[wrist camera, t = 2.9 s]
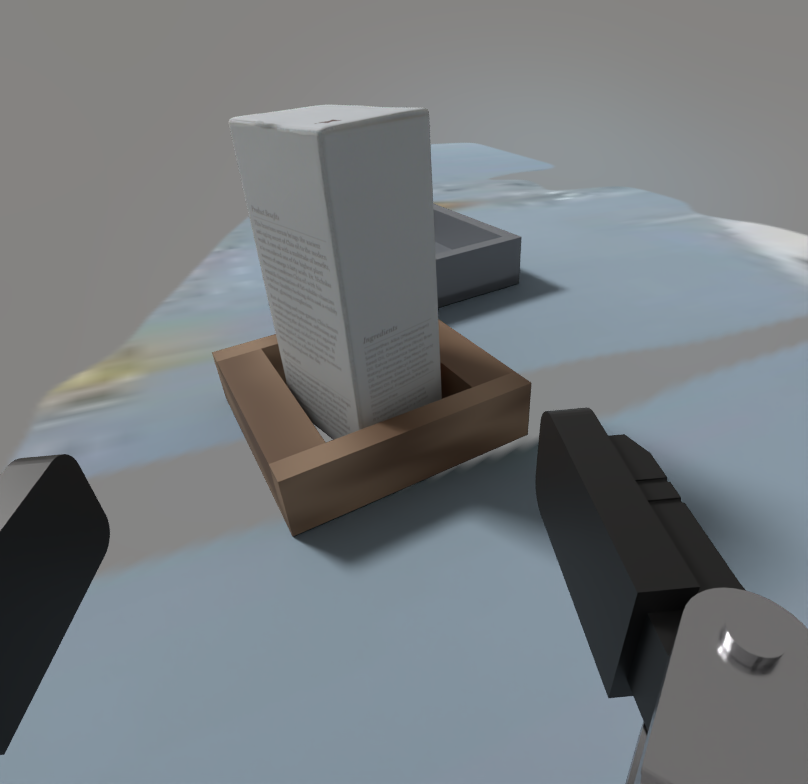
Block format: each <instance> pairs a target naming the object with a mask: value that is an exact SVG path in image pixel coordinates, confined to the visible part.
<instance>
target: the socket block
mask: <svg viewBox="0 0 808 784" xmlns="http://www.w3.org/2000/svg"><path fill="white" fill-rule="evenodd" d="M438 324H439V347H440V370H441V392H442V399H441V400H438V401H435V402H433V403H430V404H427V405H425V406H422V407H419V408H417V409H414V410H411V411H409V412H406V413H403V414H401V415H398V416H395V417H393V418H390V419H387V420H385V421H382V422H379V423H377V424H374V425H371V426H369V427H366V428H363V429H361V430H358V431H356V432H353V433H350V434H348V435H345V436H342V437H340V438H337V439H334V440H332V441H329V442H325V441H324V439H323V438H322V437H321V436H320V434H319V432H318V431H317V429H316V428H315V426H314V425H313V423H312V422H311V420H310V419H309V418H308V416H307V415H306V413H305V412H304V410H303V409H302V407H301V406H300V404H299V403H298V402H297V400H296V399H295V397H294V396H293V394H292V393H291V391H290V390H289V388H288V386H287V382H286V377H285V373H284V368H283V363H282V359H281V355H280V350H279V346H278V341H277V337H276V334H275V335H271V336H268V337H264V338H261V339H257V340H254V341H250V342H247V343H243V344H240V345H236V346H233V347H229V348H226V349H222V350H219V351H215V352H212V354H213V357H214V361H215V364H216V367H217V370H218V374H219V377H220V380H221V383H222V386H223V390H224V393H225V396H226V399H227V401H228V403H229V405H230V407H231V409H232V411H233V413H234V416H235V418H236V420H237V422H238V424H239V426H240V428H241V430H242V432H243V434H244V436H245V438H246V440H247V443H248V445H249V447H250V449H251V451H252V453H253V455H254V457H255V459H256V461H257V463H258V465H259V467H260V469H261V471H262V474H263V476H264V478H265V480H266V482H267V484H268V486H269V488H270V490H271V492H272V495H273V497H274V499H275V501H276V503H277V505H278V507H279V509H280V511H281V513H282V515H283V517H284V519H285V522H286V524H287V526H288V528H289V530H290V532H291V534H292V536H295V535H298V534H300V533H302V532H305V531H307V530H309V529H311V528H314V527H316V526H318V525H321V524H323V523H325V522H328V521H330V520H332V519H334V518H337V517H339V516H341V515H344V514H346V513H348V512H351V511H353V510H355V509H358V508H360V507H362V506H364V505H367V504H369V503H371V502H374V501H376V500H378V499H381V498H383V497H385V496H387V495H390V494H392V493H394V492H397V491H399V490H401V489H404V488H406V487H408V486H411V485H413V484H415V483H417V482H420V481H422V480H424V479H427V478H429V477H431V476H434V475H436V474H438V473H440V472H443V471H445V470H447V469H450V468H452V467H454V466H457V465H459V464H461V463H463V462H466V461H468V460H470V459H473V458H475V457H477V456H480V455H482V454H484V453H487V452H489V451H491V450H493V449H496V448H498V447H500V446H503V445H505V444H507V443H510V442H512V441H514V440H516V439H519V438H521V437H523V436H526V435H528V422H529V409H530V395H531V382H529V381H528V380H526V379H525V378H523V377H522V376H521V375H519V374H518V373H516V372H515V371H513V370H512V369H510V368H509V367H507V366H506V365H505V364H503V363H502V362H500V361H499V360H497V359H496V358H494V357H493V356H491V355H490V354H488V353H487V352H486V351H484V350H483V349H481V348H480V347H478V346H477V345H475V344H474V343H472V342H471V341H469V340H468V339H467V338H465V337H464V336H462V335H461V334H459V333H458V332H456V331H455V330H453V329H452V328H450V327H449V326H448V325H446V324H445V323H443V322H442V321H440V320H439V319H438Z"/></svg>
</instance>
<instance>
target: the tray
mask: <svg viewBox="0 0 808 784" xmlns="http://www.w3.org/2000/svg"><path fill="white" fill-rule="evenodd" d="M433 212H434V233H435V258H436V277H437V299H438V307H442V306H445V305H448V304H452V303H455V302H458V301H462V300H465V299H468V298H471V297H475V296H478V295H481V294H485V293H488V292H491V291H495V290H498V289H501V288H504V287H508V286H511V285H514V284H518V283H519V273H520V253H521V237H520V236H517V235H515V234H512V233H509V232H507V231H504V230H502V229H499V228H496V227H494V226H491V225H488V224H486V223H483V222H480V221H478V220H475V219H473V218H470V217H467V216H465V215H462V214H459V213H457V212H454V211H452V210H449V209H446V208H444V207H441V206H438V205H436V204H433Z"/></svg>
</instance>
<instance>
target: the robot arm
mask: <svg viewBox="0 0 808 784" xmlns="http://www.w3.org/2000/svg"><path fill="white" fill-rule="evenodd" d="M536 495H537V501H538V506H539V510H540V513H541V516H542V519H543V522H544V524H545V527H546V530H547V533H548V535H549V538H550V541H551V543H552V546H553V549H554V552H555V554H556V557H557V560H558V562H559V565H560V568H561V571H562V573H563V576H564V579H565V581H566V584H567V587H568V590H569V592H570V595H571V598H572V600H573V603H574V606H575V609H576V611H577V614H578V617H579V619H580V622H581V625H582V628H583V630H584V633H585V636H586V638H587V641H588V644H589V647H590V649H591V652H592V655H593V657H594V660H595V663H596V666H597V668H598V671H599V674H600V676H601V679H602V682H603V685H604V687H605V690H606V693H607V695H608V698H615V697H625V696H634V698H635V701H636V703H637V706H638V708H639V711H640V713H641V716H642V718H643V720H644V721H643V724H642V727H641V730H640V734H639V737H638V741H637V744H636V748H635V751H634V755H633V759H632V762H631V766H630V769H629V773H628V776H627V780H626V783H625V784H808V629H807V628H806V627H805V626H804V625H803V623H802V622H800V621H799V620H798V619H797V618H796V617H795V616H794V615H792V614H791V613H790V612H788V611H787V610H786V609H784V608H783V607H781V606H780V605H778V604H776V603H774V602H773V601H771V600H769V599H767V598H764V597H762V596H760V595H758V594H755V593H752V592H748V591H746V590H745V589H744V588H743V586H742V585H741V584H740V583H739V581H738V580H737V578H736V577H735V575H734V574H733V572H732V571H731V570H730V568H729V567H728V565H727V564H726V562H725V561H724V559H723V558H722V557H721V555H720V554H719V552H718V551H717V549H716V548H715V546H714V545H713V543H712V542H711V541H710V539H709V538H708V536H707V535H706V533H705V532H704V530H703V529H702V527H701V526H700V525H699V523H698V522H697V520H696V519H695V517H694V516H693V514H692V513H691V511H690V510H689V509H688V507H687V506H686V504H685V503H682V502H681V497H680V495H679V494H678V493H677V491H676V490H675V488H674V487H673V485H672V484H671V482H667V477H666V475H665V474H664V472H663V471H662V469H661V468H660V466H659V465H658V464H657V462H656V461H655V459H654V458H653V456H652V455H651V453H649V452H648V451H647V450H645V449H644V448H642V447H641V446H640V445H638V444H637V443H636V442H634V441H633V440H631V439H630V438H629V437H627V436H626V435H624V434H623V435H612V436H608V435H607V433H606V432H605V430H604V428H603V427H602V425H601V424H600V422H599V420H598V419H597V417H596V415H595V414H594V412H593V411H592V410H591V409H590V408H578V409H568V410H557V411H545V412H544V413H543V414H542V417H541V424H540V434H539V445H538V457H537V468H536ZM109 538H110V529H109V523H108V519H107V517H106V514H105V513H104V511H103V509H102V507H101V505H100V503H99V502H98V500H97V498H96V496H95V494H94V492H93V490H92V489H91V486H90V485H89V483H88V481H87V479H86V477H85V475H84V473H83V472H82V470H81V468H80V466H79V464H78V463H77V461H76V460H75V459H74V458H73V457H72V456H70V455H66V454H62V455H51V456H41V457H30V458H20V459H17V460H14V461H13V462H11V463H10V464H9V465H8V466H7V468H6V469H5V470H4V471H3V472H2V474H1V475H0V755H4V754H5V752H6V750H7V748H8V746H9V744H10V742H11V740H12V738H13V736H14V734H15V732H16V730H17V728H18V726H19V724H20V722H21V720H22V718H23V716H24V714H25V712H26V710H27V708H28V706H29V704H30V702H31V700H32V698H33V696H34V694H35V692H36V691H37V689H38V687H39V685H40V683H41V681H42V679H43V677H44V675H45V673H46V671H47V669H48V667H49V665H50V663H51V661H52V659H53V657H54V655H55V653H56V651H57V649H58V647H59V645H60V643H61V641H62V639H63V637H64V635H65V633H66V631H67V629H68V627H69V625H70V623H71V621H72V619H73V617H74V615H75V613H76V611H77V609H78V607H79V605H80V603H81V602H82V600H83V598H84V596H85V594H86V592H87V590H88V588H89V586H90V584H91V582H92V580H93V578H94V576H95V574H96V572H97V570H98V568H99V566H100V564H101V562H102V560H103V558H104V556H105V554H106V552H107V548H108V544H109Z"/></svg>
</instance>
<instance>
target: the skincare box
mask: <svg viewBox="0 0 808 784" xmlns="http://www.w3.org/2000/svg"><path fill="white" fill-rule="evenodd" d="M229 127H230V132H231V136H232V140H233V145H234V149H235V154H236V158H237V163H238V167H239V172H240V176H241V181H242V186H243V189H244V194H245V198H246V203H247V208H248V212H249V217H250V222H251V226H252V230H253V235H254V239H255V243H256V248H257V252H258V257H259V261H260V266H261V270H262V275H263V280H264V284H265V288H266V292H267V297H268V301H269V306H270V310H271V315H272V319H273V324H274V328H275V332H276V337H277V341H278V346H279V350H280V355H281V359H282V363H283V368H284V373H285V377H286V382H287V386H288V388H289V390H290V391H291V393H292V394H293V396H294V397H295V399H296V400H297V402H298V403H299V404H300V406H301V407H302V409H303V410H304V412H305V413H306V415H307V416H308V418H309V419H310V420H311V422H312V423H313V424H314V425H316V426H317V427H318V428H319V429H321V430H322V431H323V432H325V433H326V434H327V435H328V436H330V437H331V438H332V439H333V440H334V439H337V438H340V437H342V436H345V435H348V434H350V433H353V432H356V431H358V430H361V429H363V428H366V427H369V426H371V425H374V424H377V423H379V422H382V421H385V420H387V419H390V418H393V417H395V416H398V415H401V414H403V413H406V412H409V411H411V410H414V409H417V408H419V407H422V406H425V405H427V404H430V403H433V402H435V401H438V400H441V399H442V392H441V370H440V347H439V324H438V299H437V277H436V258H435V233H434V212H433V190H432V168H431V147H430V125H429V111H428V109H426V108H391V107H371V106H353V105H352V106H351V105H318V106H311V107H304V108H296V109H290V110H283V111H275V112H268V113H261V114H253V115H245V116H238V117H234V118H231V119H230V120H229Z"/></svg>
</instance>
